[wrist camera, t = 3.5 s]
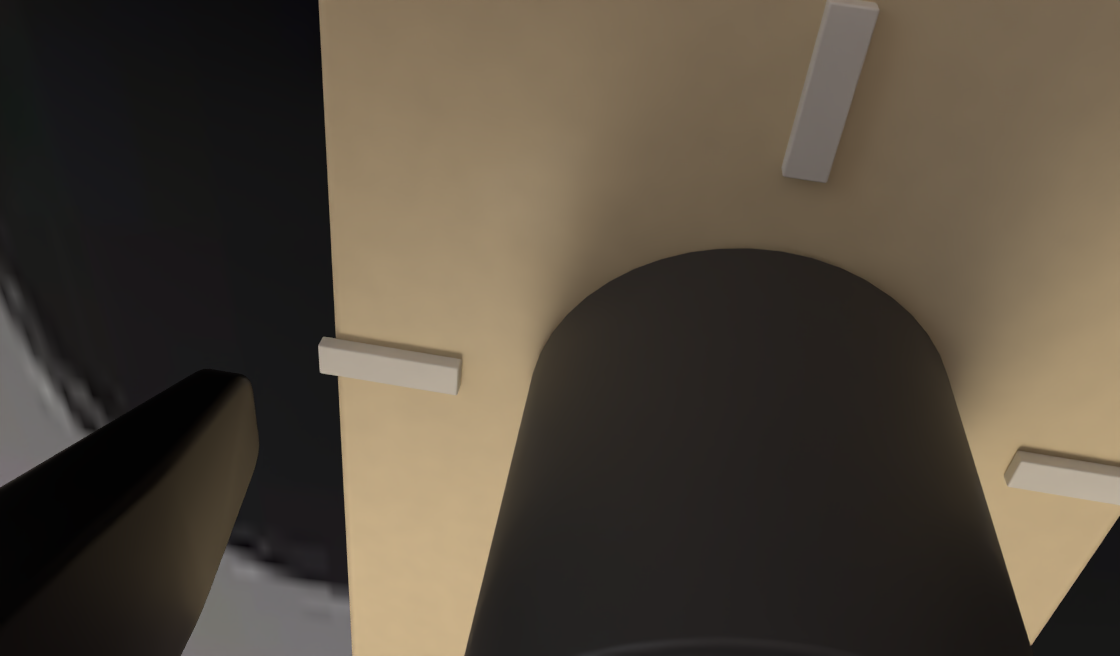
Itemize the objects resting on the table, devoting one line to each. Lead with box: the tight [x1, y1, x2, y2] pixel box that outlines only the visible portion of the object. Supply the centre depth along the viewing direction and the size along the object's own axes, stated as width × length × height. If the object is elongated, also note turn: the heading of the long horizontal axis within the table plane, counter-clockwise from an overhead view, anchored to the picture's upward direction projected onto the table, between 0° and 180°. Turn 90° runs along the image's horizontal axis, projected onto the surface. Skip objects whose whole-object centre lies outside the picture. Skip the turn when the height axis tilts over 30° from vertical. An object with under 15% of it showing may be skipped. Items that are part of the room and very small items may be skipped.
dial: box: [464, 248, 1034, 656], centre depth 8 cm, size 4×4×4 cm
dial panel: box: [318, 0, 1120, 656], centre depth 10 cm, size 11×8×3 cm
